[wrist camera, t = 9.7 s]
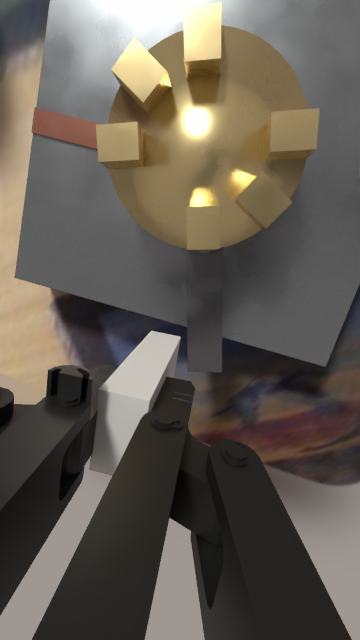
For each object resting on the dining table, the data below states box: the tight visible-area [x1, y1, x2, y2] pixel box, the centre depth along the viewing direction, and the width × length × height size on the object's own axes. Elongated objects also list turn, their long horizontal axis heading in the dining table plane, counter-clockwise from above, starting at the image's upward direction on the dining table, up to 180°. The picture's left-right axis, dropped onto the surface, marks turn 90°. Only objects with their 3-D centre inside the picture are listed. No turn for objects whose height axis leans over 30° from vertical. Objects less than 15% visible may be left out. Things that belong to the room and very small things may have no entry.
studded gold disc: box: [96, 2, 319, 372], centre depth 16 cm, size 17×10×4 cm, turn 1°
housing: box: [15, 0, 360, 367], centre depth 20 cm, size 22×21×4 cm
